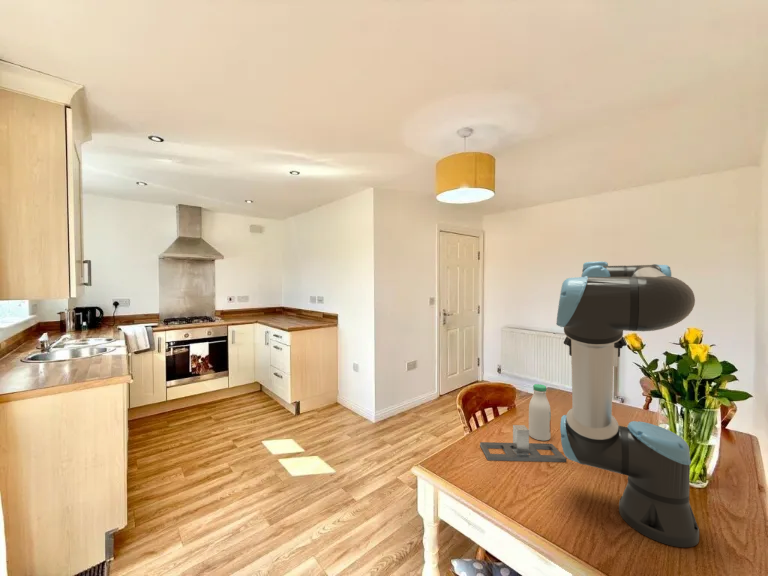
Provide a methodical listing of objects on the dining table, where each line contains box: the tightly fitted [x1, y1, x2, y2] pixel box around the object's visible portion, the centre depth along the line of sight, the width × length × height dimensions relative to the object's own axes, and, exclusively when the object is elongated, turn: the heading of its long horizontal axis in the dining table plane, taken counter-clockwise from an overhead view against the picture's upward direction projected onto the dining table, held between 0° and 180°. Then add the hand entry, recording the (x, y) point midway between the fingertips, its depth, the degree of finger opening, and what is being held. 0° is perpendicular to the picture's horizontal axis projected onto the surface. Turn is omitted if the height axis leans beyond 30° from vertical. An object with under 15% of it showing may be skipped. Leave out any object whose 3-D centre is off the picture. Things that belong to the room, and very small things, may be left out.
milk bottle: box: [528, 383, 552, 442], centre depth 125 cm, size 8×8×20 cm
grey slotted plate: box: [479, 441, 567, 463], centre depth 113 cm, size 10×26×1 cm, turn 88°
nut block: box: [512, 424, 530, 455], centre depth 113 cm, size 4×4×9 cm
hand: (594, 365), depth 113 cm, fingers open, 13 cm apart
